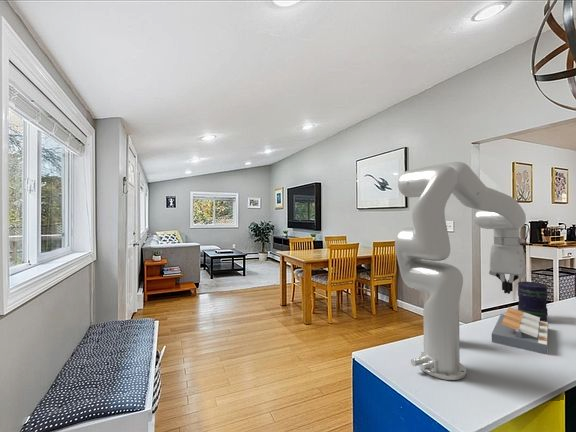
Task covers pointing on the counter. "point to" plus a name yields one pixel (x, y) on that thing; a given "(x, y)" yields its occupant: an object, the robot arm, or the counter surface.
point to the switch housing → (521, 337)
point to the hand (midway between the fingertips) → (507, 292)
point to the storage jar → (533, 299)
